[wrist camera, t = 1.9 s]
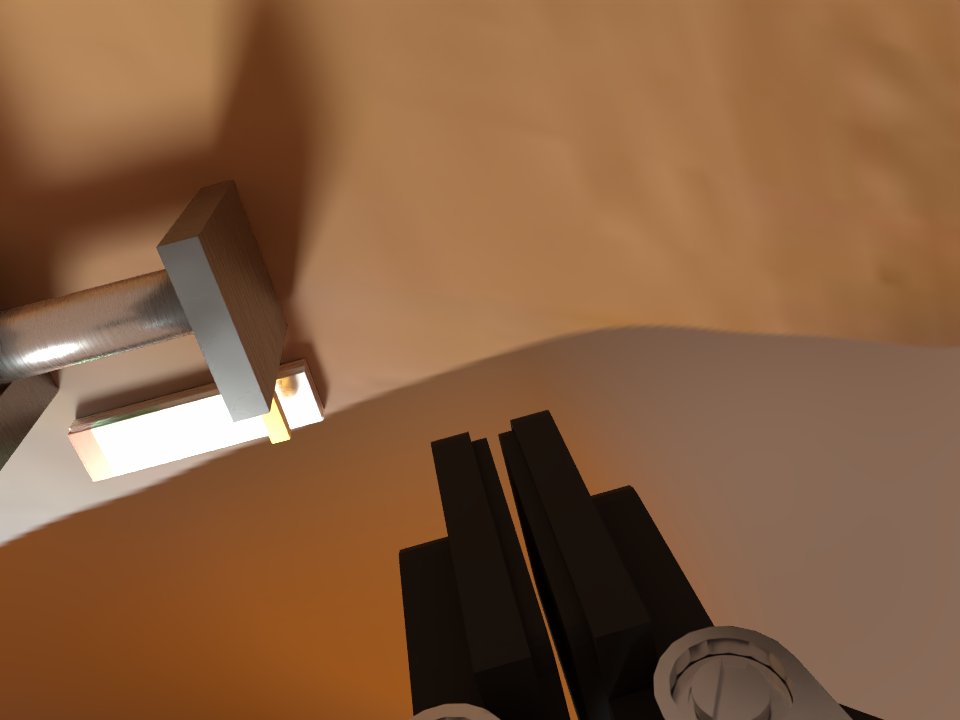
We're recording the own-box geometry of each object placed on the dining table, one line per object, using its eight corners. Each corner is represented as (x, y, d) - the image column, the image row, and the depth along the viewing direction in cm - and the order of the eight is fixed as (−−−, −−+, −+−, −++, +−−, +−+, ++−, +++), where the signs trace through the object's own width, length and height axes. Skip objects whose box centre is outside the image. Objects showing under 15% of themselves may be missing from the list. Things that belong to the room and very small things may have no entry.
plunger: (233, 179, 23) (197, 236, 18) (318, 407, 27) (309, 509, 22) (-125, 271, 23) (-270, 357, 18) (12, 489, 27) (-73, 614, 21)
